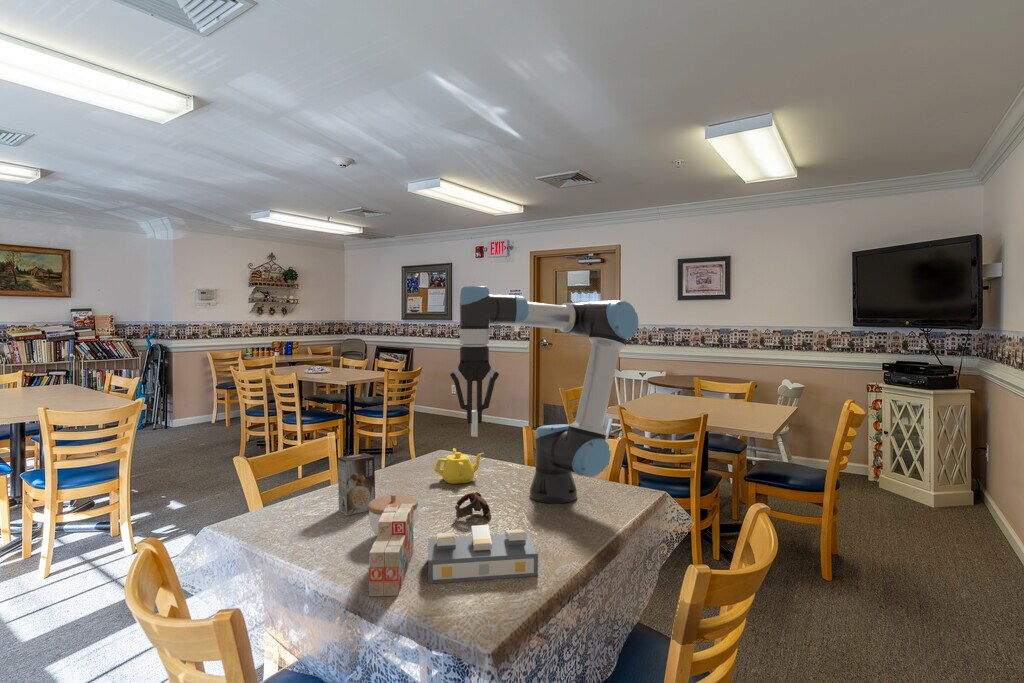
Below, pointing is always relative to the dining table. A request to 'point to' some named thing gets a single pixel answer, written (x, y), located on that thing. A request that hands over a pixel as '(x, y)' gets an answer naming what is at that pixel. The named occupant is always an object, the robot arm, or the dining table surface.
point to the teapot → (457, 468)
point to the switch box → (481, 560)
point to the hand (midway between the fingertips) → (474, 435)
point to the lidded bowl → (380, 504)
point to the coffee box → (356, 483)
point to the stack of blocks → (391, 550)
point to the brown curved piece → (472, 505)
